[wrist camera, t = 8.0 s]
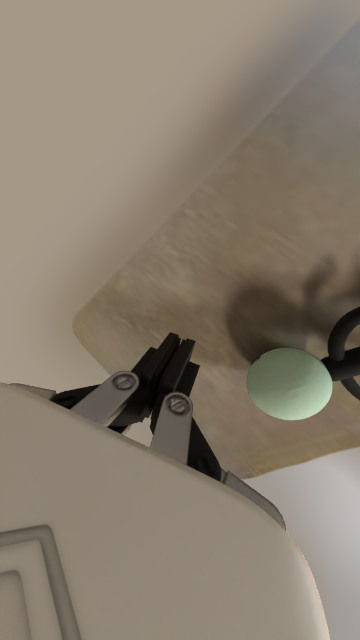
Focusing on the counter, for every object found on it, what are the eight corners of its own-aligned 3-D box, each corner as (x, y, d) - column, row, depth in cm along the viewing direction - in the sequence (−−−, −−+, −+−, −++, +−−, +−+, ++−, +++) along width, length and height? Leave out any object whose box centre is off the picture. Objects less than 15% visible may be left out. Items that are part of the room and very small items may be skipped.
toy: (407, 267, 16) (227, 341, 21) (507, 285, 10) (230, 379, 15) (430, 364, 18) (264, 408, 23) (521, 420, 13) (278, 461, 18)
